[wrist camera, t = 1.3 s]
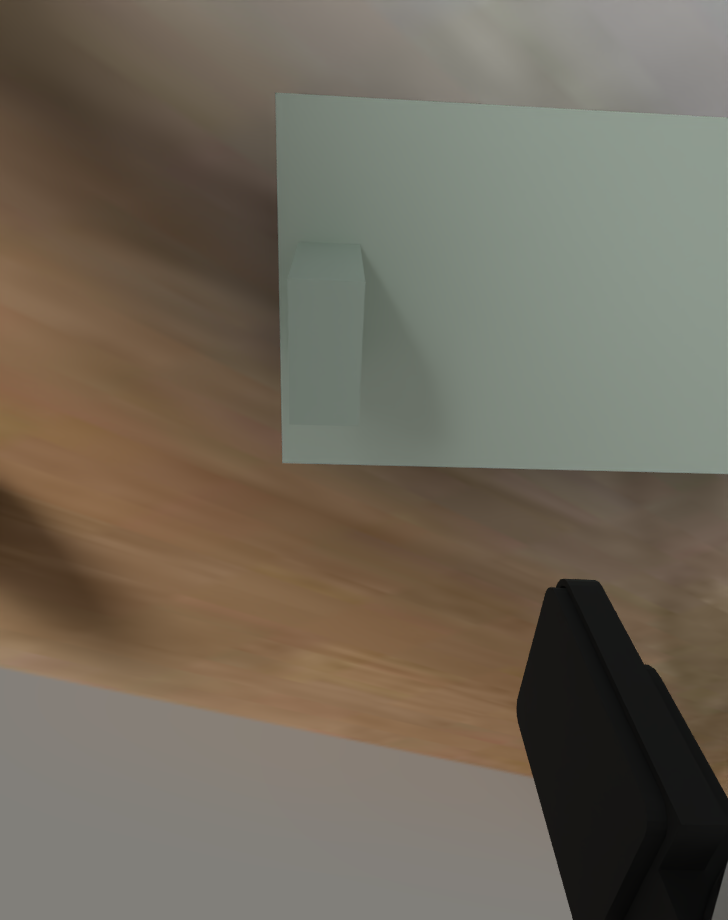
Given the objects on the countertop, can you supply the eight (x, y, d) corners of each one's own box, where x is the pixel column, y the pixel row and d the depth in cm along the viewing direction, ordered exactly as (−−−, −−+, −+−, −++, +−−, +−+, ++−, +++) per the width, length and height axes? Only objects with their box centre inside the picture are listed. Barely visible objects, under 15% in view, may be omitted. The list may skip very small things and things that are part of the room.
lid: (279, 93, 23) (254, 88, 17) (843, 124, 24) (1029, 131, 18) (285, 446, 31) (269, 540, 24) (718, 458, 32) (817, 550, 25)
